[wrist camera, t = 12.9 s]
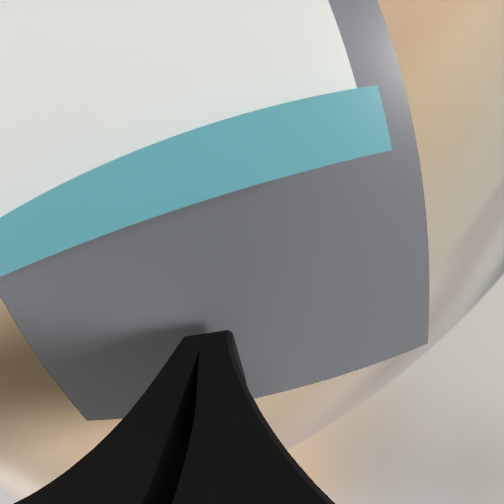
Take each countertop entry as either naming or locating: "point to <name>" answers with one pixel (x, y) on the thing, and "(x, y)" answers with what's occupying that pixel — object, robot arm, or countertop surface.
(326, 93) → the lid
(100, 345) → the housing
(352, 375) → the countertop surface
